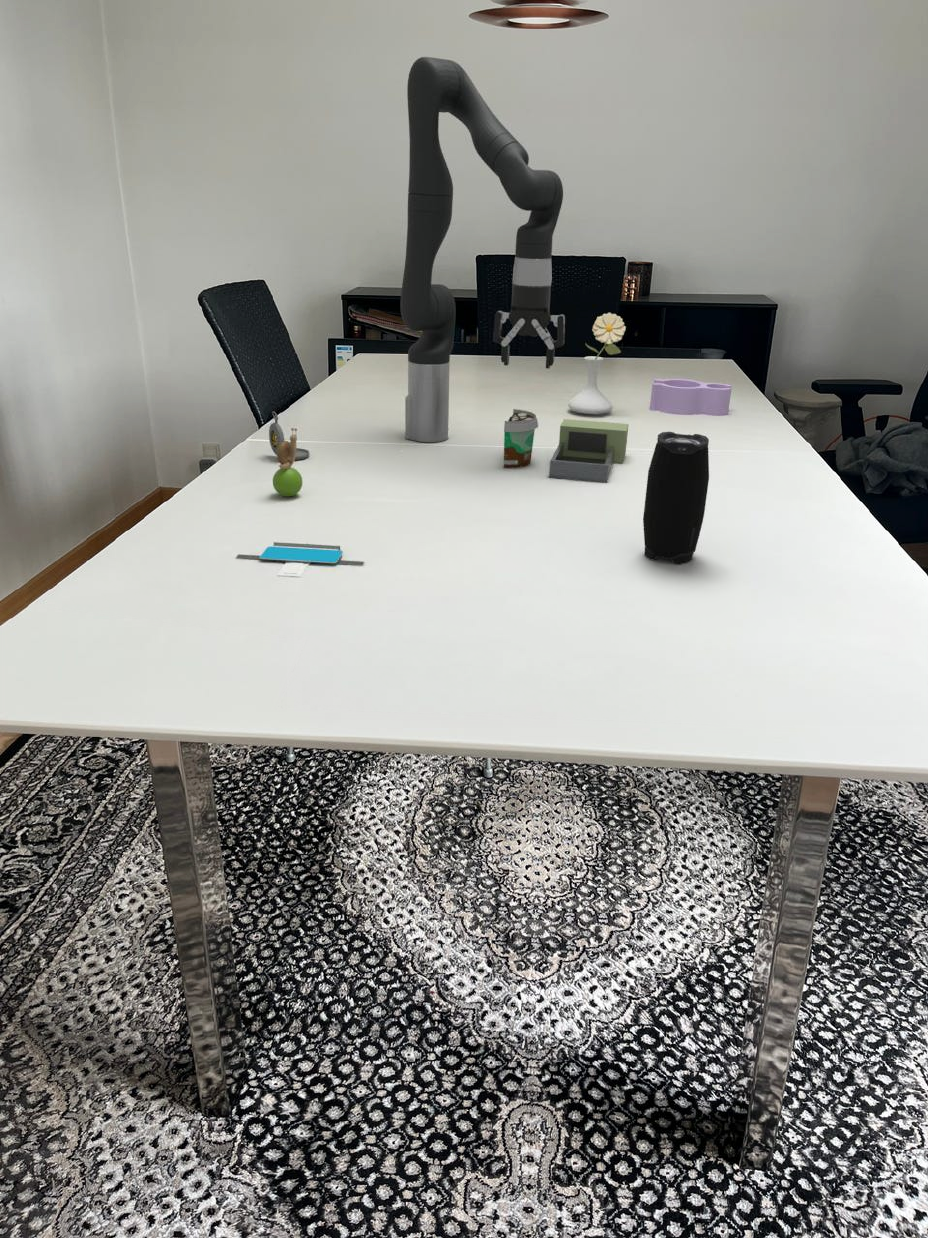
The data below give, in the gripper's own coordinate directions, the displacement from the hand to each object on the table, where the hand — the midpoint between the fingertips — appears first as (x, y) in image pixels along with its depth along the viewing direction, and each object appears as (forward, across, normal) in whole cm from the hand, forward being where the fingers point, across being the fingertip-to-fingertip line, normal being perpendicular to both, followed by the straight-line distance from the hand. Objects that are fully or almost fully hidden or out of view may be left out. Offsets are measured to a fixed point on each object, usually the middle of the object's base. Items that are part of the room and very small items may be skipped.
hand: (527, 366), depth 195 cm
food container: (+20, 0, 0) cm, 20 cm away
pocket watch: (+20, -48, -11) cm, 53 cm away
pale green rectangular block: (+20, +14, +9) cm, 26 cm away
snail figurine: (+20, -38, -35) cm, 56 cm away
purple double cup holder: (+20, +35, +63) cm, 75 cm away
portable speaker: (+20, +32, -48) cm, 60 cm away
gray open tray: (+20, +13, -1) cm, 24 cm away
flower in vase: (+20, +10, +52) cm, 56 cm away
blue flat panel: (+21, -25, -66) cm, 74 cm away
